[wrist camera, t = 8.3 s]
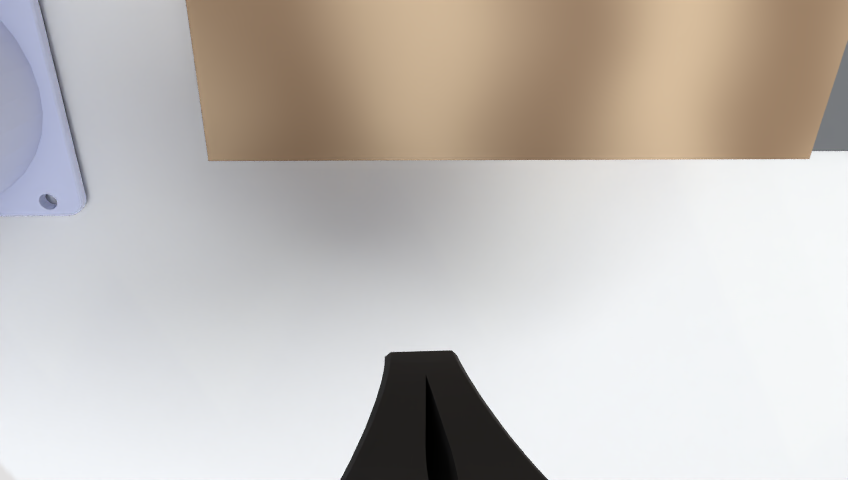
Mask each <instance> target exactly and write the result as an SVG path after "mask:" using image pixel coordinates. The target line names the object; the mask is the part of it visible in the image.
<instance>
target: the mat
mask: <svg viewBox="0 0 848 480" xmlns="http://www.w3.org/2000/svg"><path fill="white" fill-rule="evenodd" d="M812 151H848V41H847V44H846V47H845V50H844V53H843V56H842V59H841V62H840V65H839V69H838V72H837V75H836V78H835V81H834V84H833V87H832V90H831V93H830V96H829V99H828V103H827V106H826V109H825V112H824V115H823V118H822V121H821V124H820V127H819V130H818V133H817V137H816V140H815V143H814V146H813V149H812Z"/></svg>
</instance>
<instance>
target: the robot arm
mask: <svg viewBox="0 0 848 480" xmlns="http://www.w3.org/2000/svg"><path fill="white" fill-rule="evenodd" d="M45 194H49V195H52V196H53V197H55V199H56V201H57V205H55V204H51V203H50V202H48V201H47V199H46V198H45ZM85 204H86V194H85V190H84V186H83V182H82V178H81V174H80V170H79V166H78V162H77V157H76V153H75V149H74V145H73V141H72V137H71V133H70V129H69V125H68V121H67V116H66V112H65V108H64V104H63V100H62V96H61V92H60V88H59V84H58V80H57V75H56V71H55V67H54V63H53V59H52V55H51V51H50V47H49V43H48V39H47V34H46V30H45V26H44V22H43V18H42V14H41V10H40V6H39V2H38V0H0V216H70V215H75V214H77V213H78V212H80V211H81V210H82V209H83V208H84V206H85ZM340 480H548V479H547V478H546V477H545V476H544V475H543V474H542V473H541V472H540V471H539V470H538V468H537V467H536V466H535V465H534V464H533V463H532V462H531V461H530V459H529V458H528V457H527V456H526V455H525V454H524V452H523V451H522V450H521V449H520V448H519V446H518V445H517V444H516V443H515V442H514V440H513V439H512V438H511V437H510V435H509V434H508V433H507V431H506V430H505V429H504V428H503V426H502V425H501V424H500V422H499V421H498V419H497V418H496V417H495V415H494V414H493V413H492V411H491V410H490V409H489V407H488V406H487V404H486V403H485V401H484V400H483V398H482V397H481V396H480V394H479V392H478V391H477V389H476V388H475V386H474V385H473V383H472V382H471V380H470V378H469V377H468V375H467V373H466V372H465V370H464V368H463V366H462V364H461V363H460V361H459V359H458V357H457V355H456V354H455V353H454V352H453V351H417V352H390V353H389V354H388V355H387V356H386V357H385V366H384V372H383V377H382V381H381V385H380V388H379V392H378V395H377V398H376V401H375V404H374V407H373V409H372V412H371V415H370V417H369V420H368V423H367V425H366V428H365V430H364V432H363V434H362V437H361V439H360V441H359V443H358V445H357V447H356V450H355V452H354V454H353V456H352V458H351V460H350V462H349V464H348V466H347V468H346V470H345V472H344V474H343V476H342V478H341V479H340Z"/></svg>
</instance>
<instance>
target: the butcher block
mask: <svg viewBox="0 0 848 480" xmlns="http://www.w3.org/2000/svg"><path fill="white" fill-rule="evenodd" d="M186 6H187V13H188V20H189V27H190V34H191V41H192V48H193V55H194V62H195V69H196V76H197V83H198V90H199V97H200V104H201V111H202V118H203V125H204V132H205V139H206V146H207V153H208V160H209V161H323V160H627V159H809V158H810V155H811V152H812V149H813V146H814V143H815V140H816V137H817V133H818V130H819V127H820V124H821V121H822V118H823V115H824V112H825V109H826V106H827V103H828V99H829V96H830V93H831V90H832V87H833V84H834V81H835V78H836V75H837V72H838V69H839V65H840V62H841V59H842V56H843V53H844V50H845V47H846V44H847V41H848V0H186Z"/></svg>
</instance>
